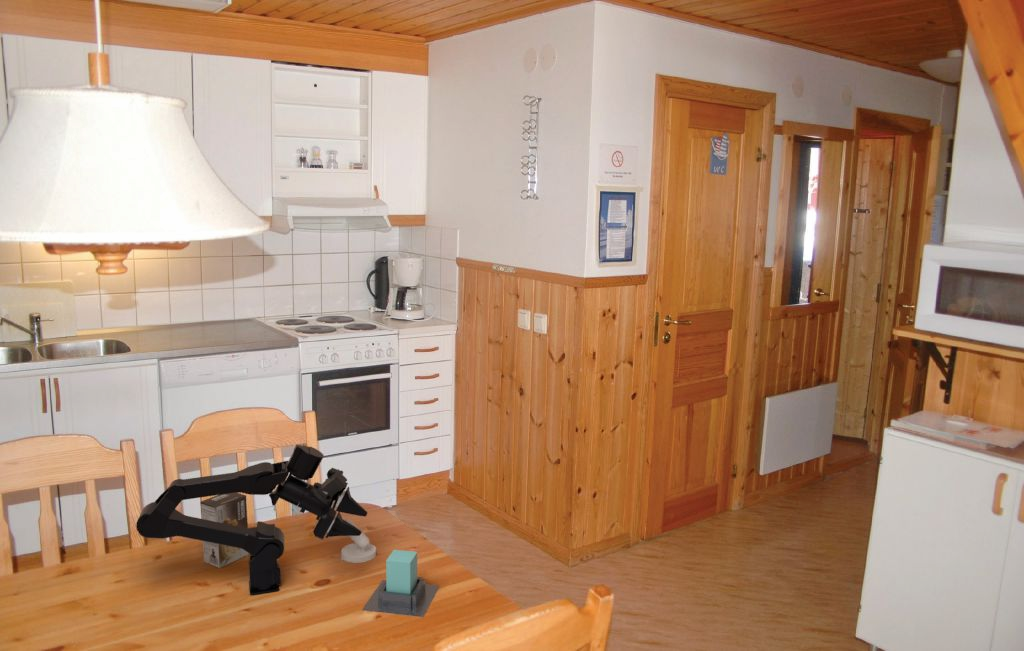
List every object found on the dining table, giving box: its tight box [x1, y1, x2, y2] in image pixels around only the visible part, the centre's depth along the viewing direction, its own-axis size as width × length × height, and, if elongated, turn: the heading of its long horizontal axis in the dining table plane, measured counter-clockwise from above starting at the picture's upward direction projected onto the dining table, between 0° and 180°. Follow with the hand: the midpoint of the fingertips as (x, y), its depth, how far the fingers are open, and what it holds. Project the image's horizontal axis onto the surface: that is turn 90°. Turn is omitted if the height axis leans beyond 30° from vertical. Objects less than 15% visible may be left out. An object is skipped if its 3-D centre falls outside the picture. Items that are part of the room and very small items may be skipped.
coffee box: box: [199, 493, 250, 569], centre depth 197 cm, size 9×6×16 cm
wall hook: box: [340, 518, 377, 564], centre depth 199 cm, size 9×10×10 cm
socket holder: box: [361, 576, 441, 618], centre depth 178 cm, size 14×14×4 cm
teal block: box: [385, 549, 418, 594], centre depth 178 cm, size 6×6×10 cm
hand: (363, 523), depth 185 cm, fingers open, 9 cm apart
